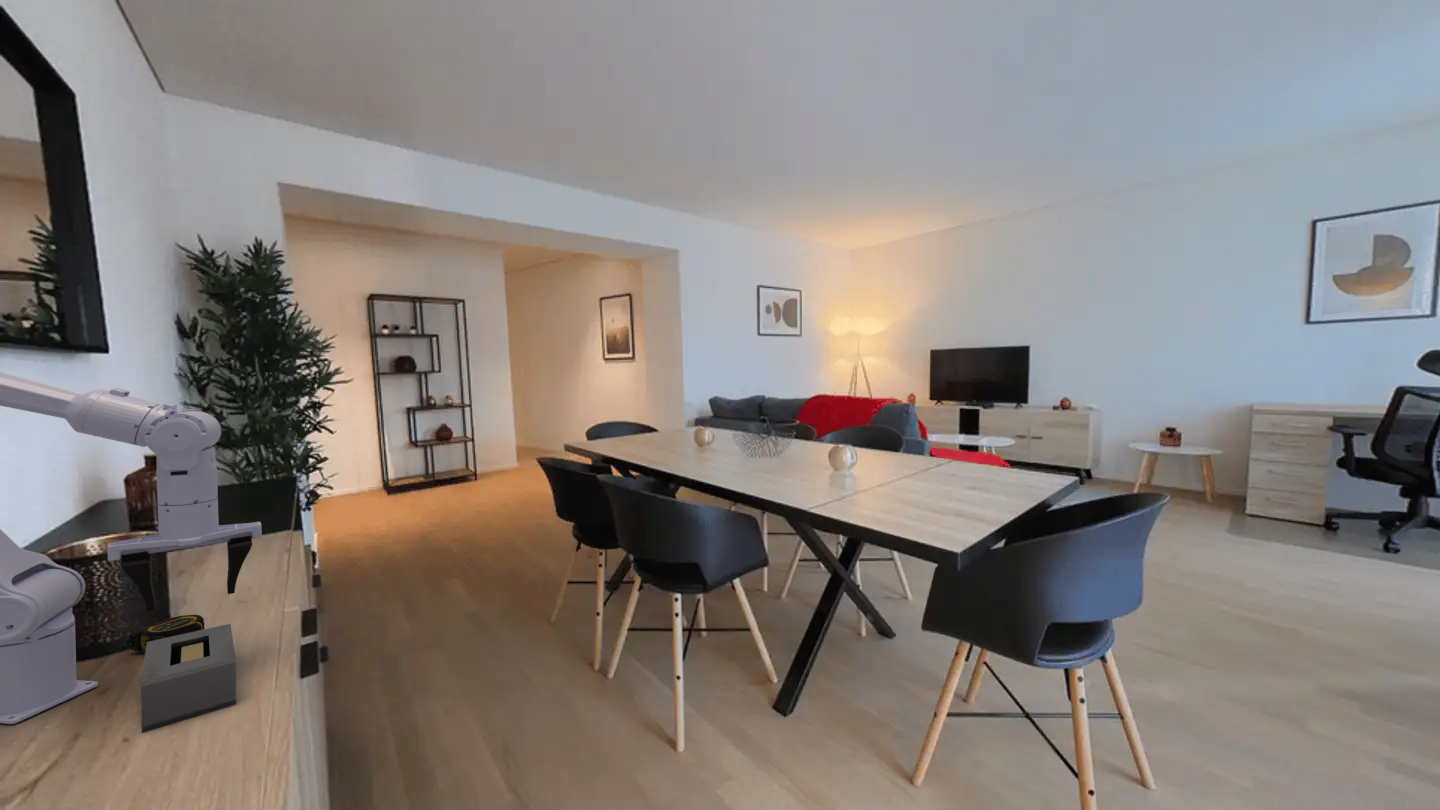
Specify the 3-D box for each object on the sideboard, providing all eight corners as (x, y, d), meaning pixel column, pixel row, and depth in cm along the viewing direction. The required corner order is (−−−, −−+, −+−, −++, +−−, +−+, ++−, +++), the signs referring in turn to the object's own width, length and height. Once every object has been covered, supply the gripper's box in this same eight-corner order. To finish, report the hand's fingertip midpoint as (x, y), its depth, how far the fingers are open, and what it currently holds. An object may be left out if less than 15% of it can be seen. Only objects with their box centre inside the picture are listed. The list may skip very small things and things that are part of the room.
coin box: (147, 686, 69) (146, 642, 69) (230, 664, 75) (230, 623, 75) (141, 732, 61) (140, 681, 61) (236, 704, 67) (235, 657, 66)
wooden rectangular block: (182, 684, 69) (181, 647, 69) (203, 678, 71) (203, 642, 70) (181, 702, 66) (180, 662, 65) (203, 695, 67) (203, 657, 67)
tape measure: (181, 633, 83) (180, 610, 83) (216, 638, 82) (216, 615, 82) (125, 655, 77) (125, 630, 76) (163, 661, 75) (162, 636, 75)
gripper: (102, 516, 63) (108, 627, 64) (262, 497, 73) (265, 593, 74) (108, 505, 68) (113, 607, 69) (257, 489, 78) (260, 579, 79)
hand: (192, 599), depth 72 cm, fingers open, 7 cm apart
